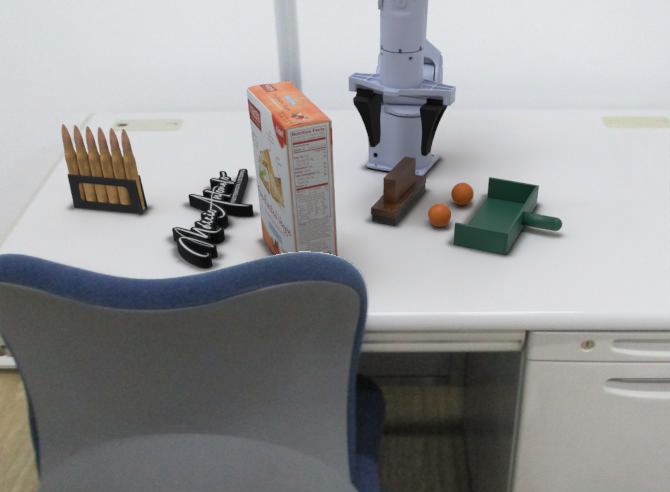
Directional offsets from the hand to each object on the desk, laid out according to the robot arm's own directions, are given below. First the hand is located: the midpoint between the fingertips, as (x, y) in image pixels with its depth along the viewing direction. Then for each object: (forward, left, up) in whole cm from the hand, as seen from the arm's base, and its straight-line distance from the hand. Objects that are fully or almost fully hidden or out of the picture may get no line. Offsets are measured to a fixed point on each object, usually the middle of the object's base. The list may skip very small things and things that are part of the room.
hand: (400, 148), depth 116 cm
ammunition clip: (-38, -17, -9) cm, 43 cm away
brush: (0, 0, -9) cm, 9 cm away
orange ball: (+8, +4, -7) cm, 12 cm away
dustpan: (+17, 0, -9) cm, 19 cm away
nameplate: (-22, -14, -9) cm, 28 cm away
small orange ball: (+7, -3, -7) cm, 11 cm away
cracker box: (-6, -20, -9) cm, 23 cm away
